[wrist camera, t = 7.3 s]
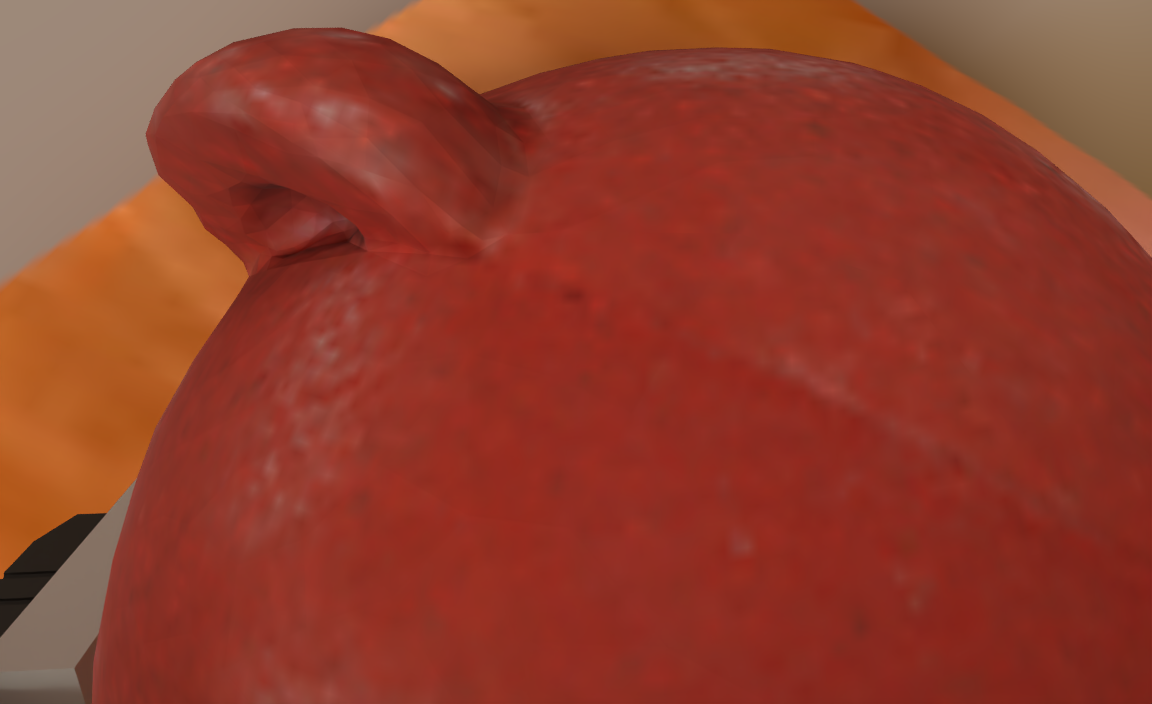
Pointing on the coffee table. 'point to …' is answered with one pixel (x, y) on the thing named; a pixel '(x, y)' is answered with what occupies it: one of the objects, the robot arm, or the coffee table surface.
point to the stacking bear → (636, 395)
